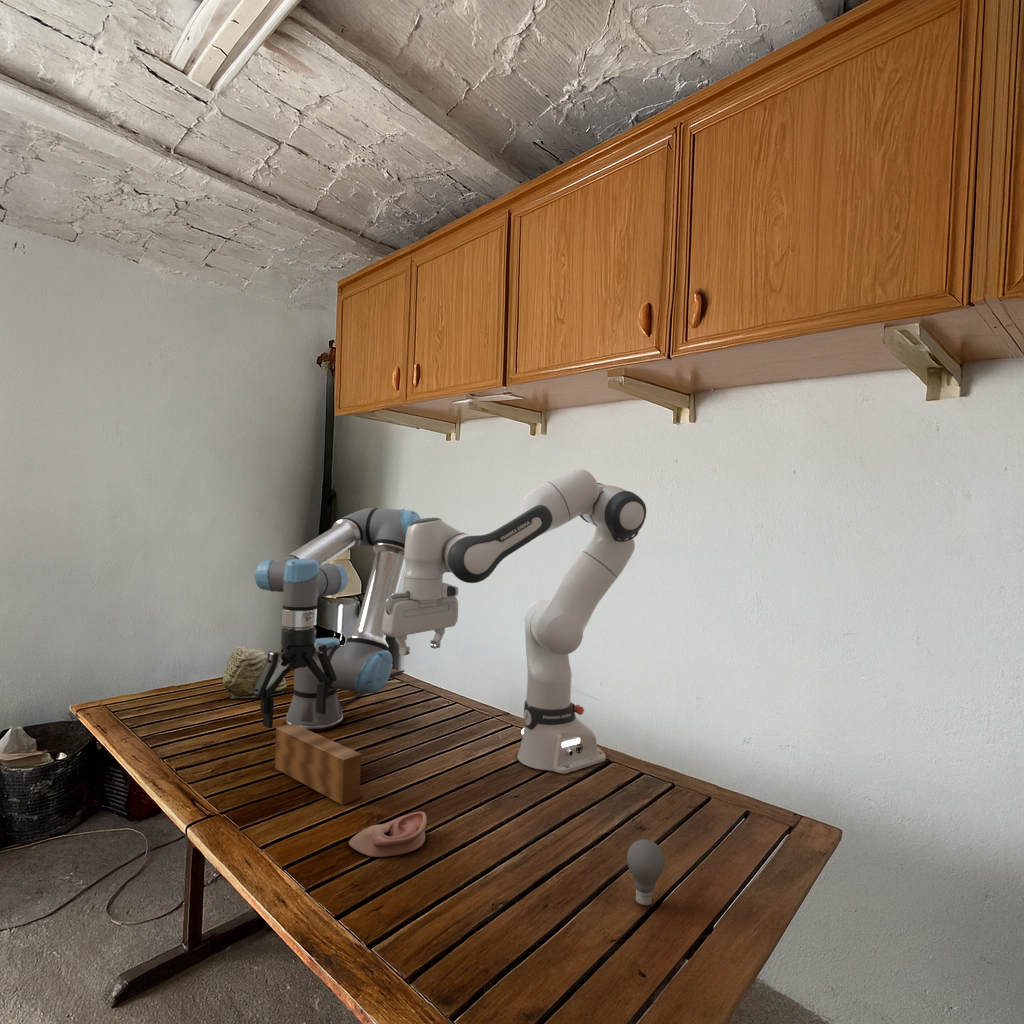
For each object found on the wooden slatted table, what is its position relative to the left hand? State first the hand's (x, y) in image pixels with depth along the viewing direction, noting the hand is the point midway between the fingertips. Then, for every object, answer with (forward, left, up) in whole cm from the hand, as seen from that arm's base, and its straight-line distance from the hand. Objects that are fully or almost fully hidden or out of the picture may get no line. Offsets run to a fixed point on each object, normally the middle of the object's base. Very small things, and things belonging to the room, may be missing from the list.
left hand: (295, 719), depth 145 cm
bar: (0, +8, -12) cm, 15 cm away
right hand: (-16, +24, +18) cm, 34 cm away
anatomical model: (+5, +39, -12) cm, 41 cm away
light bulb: (-11, +83, -12) cm, 84 cm away
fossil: (-22, -57, -12) cm, 62 cm away
